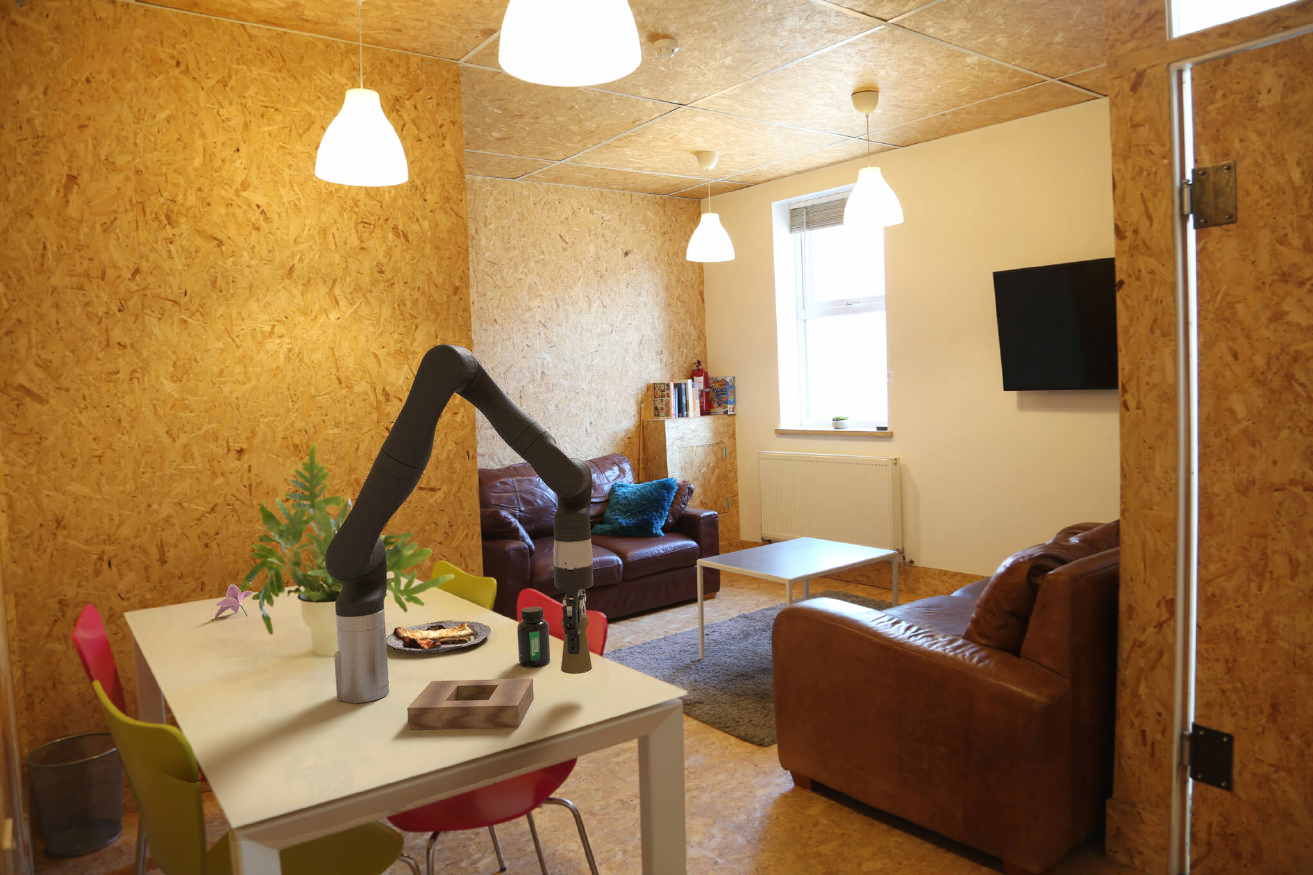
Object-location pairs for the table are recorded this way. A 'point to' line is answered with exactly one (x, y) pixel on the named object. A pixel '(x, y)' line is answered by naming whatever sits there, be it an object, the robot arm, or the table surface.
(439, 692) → the holder block
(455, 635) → the food plate
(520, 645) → the supplement bottle
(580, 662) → the cork
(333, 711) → the table surface
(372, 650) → the robot arm
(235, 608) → the lily
